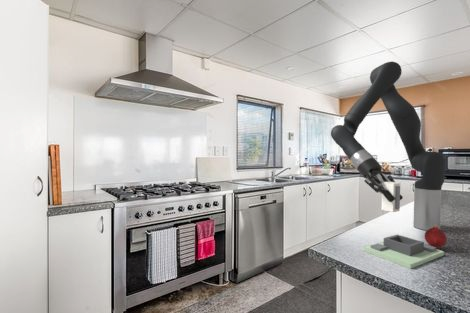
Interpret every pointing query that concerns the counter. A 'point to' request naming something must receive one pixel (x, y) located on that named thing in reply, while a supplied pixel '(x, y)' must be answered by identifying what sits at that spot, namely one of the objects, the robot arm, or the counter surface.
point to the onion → (435, 237)
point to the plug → (395, 191)
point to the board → (404, 251)
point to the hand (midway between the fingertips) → (396, 199)
